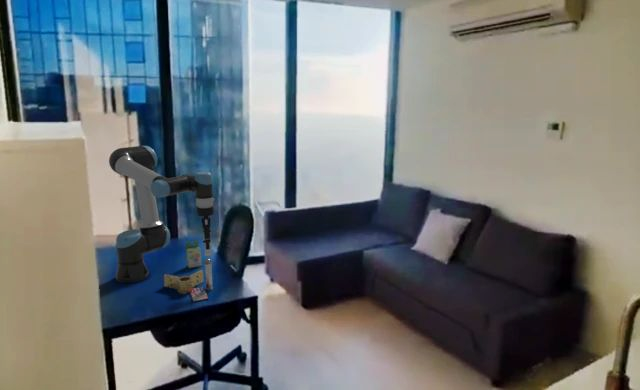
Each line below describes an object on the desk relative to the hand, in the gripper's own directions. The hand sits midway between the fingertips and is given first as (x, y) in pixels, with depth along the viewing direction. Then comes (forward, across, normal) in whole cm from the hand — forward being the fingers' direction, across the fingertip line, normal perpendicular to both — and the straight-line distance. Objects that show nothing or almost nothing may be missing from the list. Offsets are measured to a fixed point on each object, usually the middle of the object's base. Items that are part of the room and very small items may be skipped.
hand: (207, 250), depth 210 cm
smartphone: (+20, -4, +5) cm, 21 cm away
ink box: (+19, +32, +7) cm, 38 cm away
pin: (+19, 0, 0) cm, 19 cm away
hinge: (+19, +6, +10) cm, 23 cm away
